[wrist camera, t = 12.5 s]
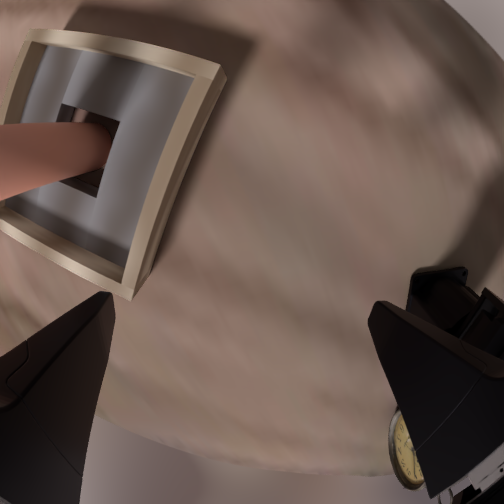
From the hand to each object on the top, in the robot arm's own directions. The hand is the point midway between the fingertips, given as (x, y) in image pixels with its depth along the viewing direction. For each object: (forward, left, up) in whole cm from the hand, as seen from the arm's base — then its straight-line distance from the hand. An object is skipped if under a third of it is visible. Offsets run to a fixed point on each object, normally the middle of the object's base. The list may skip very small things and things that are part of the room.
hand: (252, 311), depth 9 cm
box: (-12, +7, -12) cm, 18 cm away
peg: (-12, +7, -12) cm, 18 cm away
